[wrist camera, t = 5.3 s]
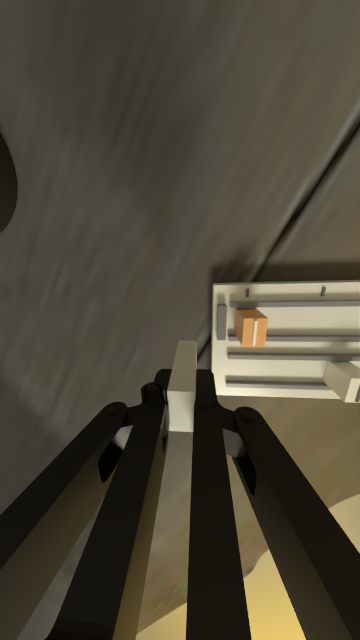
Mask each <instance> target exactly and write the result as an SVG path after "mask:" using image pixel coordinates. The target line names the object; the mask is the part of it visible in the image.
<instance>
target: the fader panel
mask: <svg viewBox="0 0 360 640" xmlns="http://www.w3.org/2000/svg"><path fill="white" fill-rule="evenodd" d="M236 308H257V309H258V310H259V311H260V312H261V313H262V314H264V315H265V316H266V317H267V318H268V323H267V332H266V340H265V347H242V346H241V344H240V342H239V340H238V338H237V336H236V334H235V321H236ZM211 371H212V372H213V374H214V380H215V387H216V395H237V396H268V397H299V398H330V399H342V400H343V401H344V402H355V403H360V280H328V281H283V282H238V283H213V284H212V332H211Z"/></svg>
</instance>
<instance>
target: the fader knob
mask: <svg viewBox="0 0 360 640" xmlns="http://www.w3.org/2000/svg"><path fill="white" fill-rule="evenodd" d="M267 323H268V318H267V317H266V316H265V315H264V314H262V313H261V312H260V311H259V310H258V309H257V308H236V321H235V334H236V336H237V338H238V340H239V342H240V344H241V346H242V347H265V340H266V332H267Z"/></svg>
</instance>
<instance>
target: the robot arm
mask: <svg viewBox="0 0 360 640" xmlns="http://www.w3.org/2000/svg"><path fill="white" fill-rule="evenodd" d="M16 197H17V185H16V177H15V172H14V167H13V164H12V161H11V158H10V155H9V152H8V150H7V148H6V146H5V144H4V142H3V140H2V138H1V136H0V232H1V231H2V230H3V229H4V228H5V227H6V226H7V225H8V223H9V221H10V220H11V218H12V215H13V213H14V209H15V205H16ZM141 395H142V404H140V405H137V406H133V407H129V408H127V406H126V404H125V403H123V402H113V403H111V404H108V405H107V406H106V407H104V408H103V409H102V410H101V411H100V412H99V413H98V414H97V415H96V416H95V417H94V419H93V420H92V421H91V422H90V423H89V424H88V425H87V426H86V427H85V428H84V429H83V430H82V431H81V432H80V433H79V434H78V435H77V436H76V437H75V438H74V439H73V440H72V441H71V442H70V443H69V444H68V446H67V447H66V448H65V449H64V450H63V451H62V452H61V453H60V454H59V455H58V456H57V457H56V458H55V459H54V460H53V461H52V462H51V463H50V464H49V465H48V466H47V467H46V468H45V469H44V470H43V471H42V472H41V474H40V475H39V476H38V477H37V478H36V479H35V480H34V481H33V482H32V483H31V484H30V485H29V486H28V487H27V488H26V489H25V490H24V491H23V492H22V493H21V494H20V495H19V496H18V497H17V498H16V499H15V501H14V502H13V503H12V504H11V505H10V506H9V507H8V508H7V509H6V510H5V511H4V512H3V513H2V514H1V515H0V640H17V638H18V636H19V635H20V633H21V631H22V630H23V628H24V627H25V624H26V623H27V622H28V620H29V618H30V617H31V615H32V613H33V611H34V610H35V608H36V607H37V605H38V603H39V602H40V600H41V599H42V597H43V595H44V594H45V592H46V590H47V589H48V587H49V585H50V584H51V582H52V580H53V579H54V577H55V575H56V574H57V572H58V570H59V569H60V567H61V566H62V564H63V562H64V561H65V559H66V557H67V556H68V554H69V552H70V551H71V549H72V547H73V546H74V544H75V542H76V541H77V539H78V538H79V536H80V534H81V533H82V531H83V529H84V528H85V526H86V524H87V523H88V521H89V519H90V518H91V516H92V514H93V513H94V511H95V510H96V508H97V506H98V505H99V503H100V501H101V500H102V498H103V496H104V495H105V493H106V491H107V493H106V495H105V498H104V500H103V503H102V505H101V508H100V510H99V513H98V515H97V518H96V520H95V523H94V526H93V528H92V531H91V533H90V536H89V538H88V541H87V543H86V546H85V548H84V551H83V553H82V556H81V559H80V561H79V564H78V566H77V569H76V571H75V574H74V576H73V579H72V581H71V584H70V586H69V589H68V592H67V594H66V597H65V599H64V602H63V604H62V607H61V609H60V612H59V614H58V617H57V619H56V622H55V624H54V626H53V628H52V630H51V632H50V634H49V635H48V637H47V638H46V639H45V640H135V638H136V632H137V626H138V620H139V614H140V608H141V602H142V596H143V590H144V584H145V578H146V572H147V566H148V560H149V553H150V547H151V541H152V535H153V529H154V523H155V517H156V511H157V505H158V499H159V493H160V487H161V481H162V475H163V469H164V463H165V457H166V451H167V445H168V429H169V430H170V431H183V432H193V452H192V480H191V509H190V537H189V565H188V594H187V622H186V640H251V633H250V625H249V618H248V611H247V603H246V596H245V589H244V581H243V574H242V567H241V560H240V552H239V545H238V538H237V531H236V523H235V516H234V509H233V501H232V494H231V487H230V480H229V472H228V465H227V458H226V454H228V455H231V456H232V459H233V461H234V464H235V466H236V469H237V471H238V474H239V476H240V478H241V481H242V483H243V486H244V488H245V491H246V493H247V496H248V498H249V500H250V503H251V505H252V508H253V510H254V513H255V515H256V518H257V520H258V523H259V525H260V527H261V530H262V532H263V535H264V537H265V540H266V542H267V545H268V547H269V549H270V552H271V554H272V557H273V559H274V561H275V564H276V566H277V569H278V571H279V574H280V576H281V579H282V581H283V584H284V586H285V588H286V591H287V593H288V596H289V598H290V601H291V603H292V606H293V608H294V611H295V613H296V615H297V618H298V620H299V623H300V625H301V628H302V630H303V632H304V635H305V638H306V640H360V553H359V552H358V551H357V549H356V548H355V546H354V545H353V544H352V542H351V541H350V540H349V538H348V536H347V535H346V534H345V532H344V531H343V529H342V528H341V527H340V525H339V524H338V522H337V521H336V520H335V518H334V517H333V515H332V514H331V513H330V511H329V510H328V508H327V507H326V506H325V504H324V503H323V501H322V500H321V499H320V497H319V496H318V494H317V493H316V491H315V490H314V489H313V487H312V486H311V484H310V483H309V482H308V480H307V479H306V477H305V476H304V475H303V473H302V472H301V470H300V469H299V468H298V466H297V465H296V463H295V462H294V461H293V459H292V458H291V456H290V455H289V454H288V452H287V451H286V449H285V448H284V446H283V445H282V444H281V442H280V441H279V439H278V438H277V437H276V435H275V434H274V432H273V431H272V430H271V428H270V427H269V425H268V424H267V423H266V421H265V420H264V418H263V417H262V416H261V414H260V413H259V412H258V411H256V410H255V409H253V408H250V407H239V408H237V409H236V410H235V411H231V410H228V409H226V408H224V407H222V406H221V405H220V404H219V402H218V400H217V395H216V387H215V380H214V374H213V372H212V371H211V370H203V369H197V341H179V344H178V348H177V352H176V356H175V360H174V364H173V368H172V369H161V370H160V371H158V372H157V374H156V377H155V379H154V382H151V383H148V384H146V385H144V386H143V387H142V388H141Z"/></svg>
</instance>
